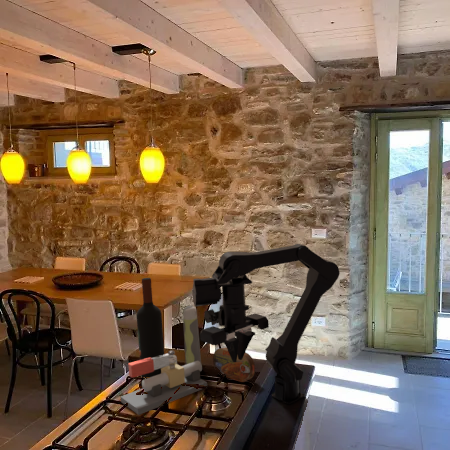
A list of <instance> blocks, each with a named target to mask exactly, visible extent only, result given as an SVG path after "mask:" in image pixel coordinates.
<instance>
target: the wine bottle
mask: <svg viewBox="0 0 450 450" xmlns="http://www.w3.org/2000/svg"><path fill="white" fill-rule="evenodd" d="M141 288H142V299H143V300H142V306H141V307H140V308H139V309H138V311H137V312H136V325H137V327H136V328H137V340H138V351H139V360H142V359H145V358H149V357H151V358H153V357H157V356H160V355H164V354H165V344H164V342H165V341H164V332H163V331H164V330H163V329H164V328H163V316H162V310H161V309H160V308H159V307H158V306H156V305H155V304H154V301H153V290H152V289H153V288H152V278H151V277H143V278H141ZM163 368H164V367H163ZM159 374H161V368H159V369H156V370H154V372H150V373H147V374H144V375H140V377H141V378H143V377H145V378H146V377H153V376H156V375H159ZM145 378H144V379H145Z"/></svg>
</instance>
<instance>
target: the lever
mask: <svg viewBox="0 0 450 450" xmlns="http://www.w3.org/2000/svg"><path fill="white" fill-rule="evenodd" d="M175 353H176V351H175V350H172V349H171V350H169V351H168V352H167V353H164V355H160V356H157V357H153V358H151V357H149V358H145V359H142V360H140V359H139V360H136V361H132V362H128V365H127V366H128V374H129V377H130V378H132V379H133V378H137V377H141V375H144V374H147V373H150V372H154V370H156V369H159V368H163V367H166V366H170V365H175V364H178V357H177V355H176V354H175Z"/></svg>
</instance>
